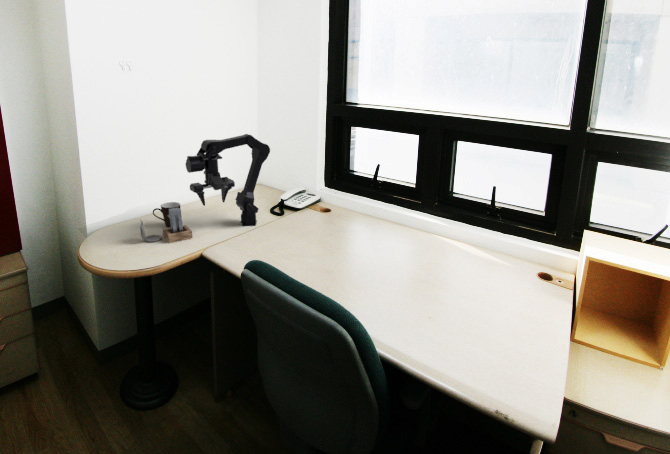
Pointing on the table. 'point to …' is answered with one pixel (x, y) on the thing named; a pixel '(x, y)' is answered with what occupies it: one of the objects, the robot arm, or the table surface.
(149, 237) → the pocket watch
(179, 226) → the tall gray prism
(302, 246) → the table surface
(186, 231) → the open wooden box
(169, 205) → the coffee mug
